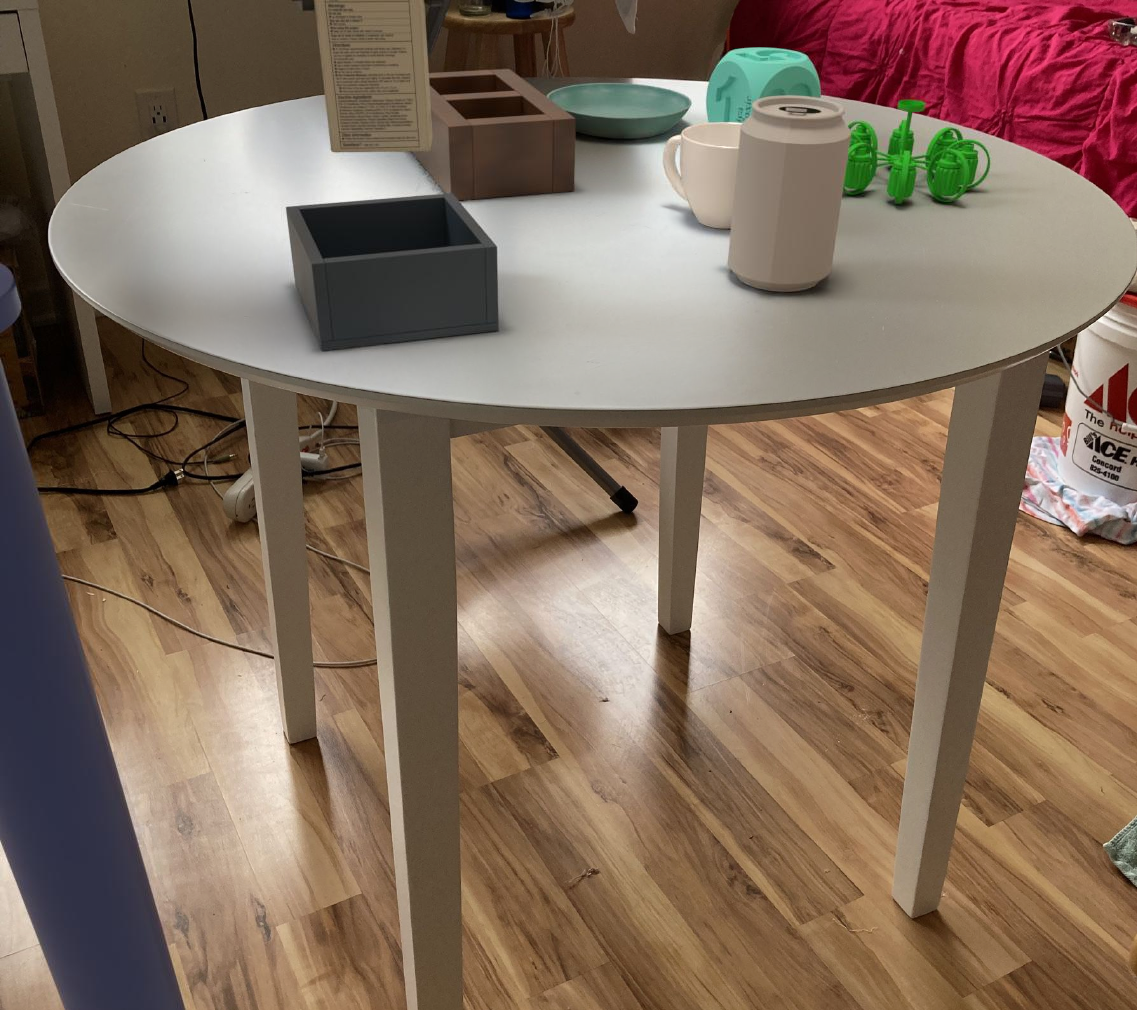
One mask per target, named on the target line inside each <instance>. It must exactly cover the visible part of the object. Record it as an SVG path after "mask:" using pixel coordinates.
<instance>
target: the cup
mask: <svg viewBox="0 0 1137 1010" xmlns="http://www.w3.org/2000/svg"><path fill="white" fill-rule="evenodd" d="M741 124H742V123H731V122H714V123H709V122H703V123H697V124H694V125H690V126H687V127H685V128H684V129H683V130H682V131H681V134H676V135H673V136H672V137H670V138H669V139H668V140H667V141H666V144H665V146H664V149H663V156H662V165H663V170H664V173H665V175H666V178H667V180H668V182H669V184H670V185H671V187H672V188H673V190H674V191H675V192H676V193H677V195H678V196H679V197H680V198H681V199H683V200H685V201H687V203H688V205H689V207H690V209H691V212H692V213H693V215H694V216H695V218H696V220H697V222H698V223H699V224H701V225H703V226H706V227H709V228H713V229H725V230H731V223H732V212H733V202H734V192H735V181H736V171H737V161H738V150H739V140H740V129H741ZM679 146H680V147H679ZM678 148H679V170H678V167H677V163H676V154H677V150H678ZM679 172H680V173H679Z"/></svg>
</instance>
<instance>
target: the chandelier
mask: <svg viewBox="0 0 1137 1010" xmlns="http://www.w3.org/2000/svg"><path fill="white" fill-rule="evenodd" d="M925 107H926V102H924V101H922V100H917V99H899V101H898V104H897V109H898V110H900V111H904V112H907V116H906V119H901V122H900V123H899V124H898V128H894V129H893V130H892V134H891V135H890V138H889V141H888V147H887V153H885V152H882V151H880V150H878V148H879V142H878V137H877V134H876V131H875V129H874V128H873V126H872V125H871V124H870V123H869V122H867V121H865V120H856V121H853V122H851V123H849V124H847V126H848V127H849V129H850V130H851V129H853V127H854V126H856V128H855V129H854V130H851V140H850V146H849V153H848V160H847V167H846V173H845V180H844V187H843V193H845V194H848V195H851V196H855V195H858V194H860V193H862V192H864V191H865V190H866V189H867V188H868V187H869V185H870V184H871V182H872V181H873V179H874V177H875V175H876V172H877V169H878V167H883V166H887V165H889V166H892V167H891V168H890V170H889V175H888V181H887V187H886V193H887V195H888V196H889V197H892V198H894V204H897V205H901V204H902V203H903V199H909V198H911V196H912V195H913V194H914V189H915V183H916V178H917V173H918V172H917V168H919V169H921V170H923V171H926V183H927V187H928V190H929V192H930V194H931V195H932V196H933V197H934V198H935V199H936V200H937V201H939V202H941V203H950V202H954V201H957V200H958V199H960V198H961V197H962V196H963V195H964V194H965V193H966V191H969V190H972V189H974V188H977V186H979V185H980V184H982V182H983V181H984V180H985V179H986V178H987V176H988V174H989V172H990V169H991V157H990V153H989V150H988V149H987V148H986V146H985V145H984V144H983V143H982V142H980V141H979V140H976V139H973V138H972V139H971V138H965V139H964V137H963V134H962V132H961V130H959V129H957V128H955V127H951V126H945V127H943V128H941V129H940V130H939V131H937V133H936V134H934V136H933V138H931V140H930V142H929V144H928V147H927V149H926V152H925V154H921V155H915V156H912V155H913V150H914V144H915V136H914V133H915V131H914V130H912V129H910V128H911V123H912V117H913V113H919V112H924V111H925ZM954 134H955V136H956V137H954ZM975 145H976V146H978V147H980V148H981V150H983V151H984V153H985V155H986V158H987V164H986V168H985V171H984V173H983V175H982V176H981V177H980V178H979V179H978V180H977V181H976V182H974V181H975V178H976V175H977V169H978V165H979V156H978V155H979V151H978V150H977V149H975ZM878 155H879V156H882V157H879V156H878ZM923 159H924V160H923ZM878 161H883V162H879V163H878ZM922 164H924V165H922ZM848 189H851V190H848ZM945 197H952V198H945Z"/></svg>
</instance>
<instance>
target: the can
mask: <svg viewBox="0 0 1137 1010" xmlns="http://www.w3.org/2000/svg"><path fill="white" fill-rule="evenodd" d="M752 109H753V110H754V112H753V113H752V114H751V115H750V116H749V117H748V118H747V119H746V120H745V121H744V122H743V123H742V124H741V129H740V140H739V150H738V161H737V171H736V181H735V192H734V202H733V212H732V223H731V229H730V235H729V244H728V255H727V264H726V265H727V266H728V267H729V269H730V270H731V271H732V272H733V273H734V274H735V275H736V277H737V279H738V280H739V281H740V282H742V283H743V284H745V285H747V286H750V287H752V288H756V289H759V290H764V291H769V292H779V293H780V292H782V293H786V292H787V293H789V292H790V293H791V292H799V291H805V290H808V289H811V288H812V287H815V286H817V284H818V283H819V282H820V281H822V280H823V279H826V278H827V276H828V275H829V274H830V273H831V272H832V268H833V267H832V266H833V260H834V252H835V247H836V239H837V233H838V226H839V220H840V215H841V214H840V213H841V206H842V200H843V194H844V192H843V187H844V180H845V173H846V167H847V160H848V153H849V146H850V140H851V131H852V130H851V129H849V127H848V124H847V123H846V122H845V119H844V118H843V115H844V114H845V113H846V108H845V107H844V106H843V104H841V103H839V102H836V101H833V100H829V99H826V98H822V97H821V98H816V97H808V96H793V95H787V96H771V97H765V98H761V99H758V100H756V101H755V102H753V103H752Z"/></svg>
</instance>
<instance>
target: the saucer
mask: <svg viewBox="0 0 1137 1010" xmlns="http://www.w3.org/2000/svg"><path fill="white" fill-rule="evenodd" d="M546 97H547V98H549V99H550V100H551V101H553V102H554V103H555V104H557V105H558V106H559V107H561V108H562V109H563V110H565V111H566V112H567V113H569V114H570V115H571V116H573V117H574V118H575V119H576V124H575V132H576V133H580V134H582V135H587V136H591V137H592V136H593V137H596V138H597V137H598V138H606V139H619V140H621V139H622V140H623V139H625V140H628V139H629V140H630V139H632V140H634V139H643V138H651V137H655V136H660V135H662V134H664V133H666V132H668V131H670V130H671V129H672V128H673V127H675V125H676V124H677V123H679V122H680V121H681V120H682V119H683V118H684V116H686V114H687V113H688V111H689V110H690V108H691V107H692V103H693V102H692V100H691V99H690V97H689V96H687V95H685V94H683V93H681V92H679V91H676V90H673V89H669V88H663V87H659V86H655V85H647V84H638V83H626V82H625V83H623V82H594V83H593V82H591V83H581V84H574V85H568V86H564V87H560V88H557V89H554V90H552V91H550V92H549V93H548V94H547V95H546Z"/></svg>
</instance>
